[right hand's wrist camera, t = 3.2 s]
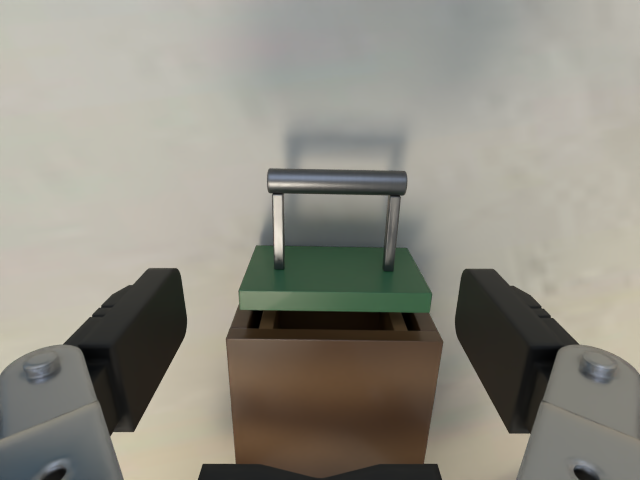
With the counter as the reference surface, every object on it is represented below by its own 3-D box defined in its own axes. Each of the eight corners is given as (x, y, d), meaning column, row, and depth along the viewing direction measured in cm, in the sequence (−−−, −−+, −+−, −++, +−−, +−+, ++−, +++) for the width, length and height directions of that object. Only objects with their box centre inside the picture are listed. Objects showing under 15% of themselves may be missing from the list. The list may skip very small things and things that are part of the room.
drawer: (252, 157, 24) (231, 179, 18) (416, 160, 24) (447, 183, 19) (265, 456, 33) (253, 534, 28) (384, 457, 34) (398, 536, 28)
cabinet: (250, 269, 28) (225, 338, 20) (409, 271, 28) (443, 341, 21) (260, 475, 36) (245, 582, 28) (386, 476, 36) (405, 584, 28)
